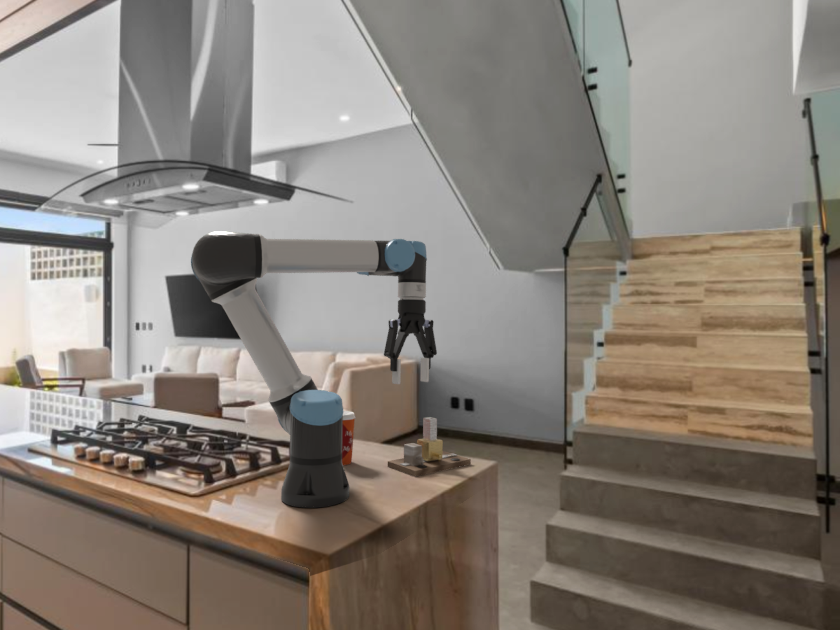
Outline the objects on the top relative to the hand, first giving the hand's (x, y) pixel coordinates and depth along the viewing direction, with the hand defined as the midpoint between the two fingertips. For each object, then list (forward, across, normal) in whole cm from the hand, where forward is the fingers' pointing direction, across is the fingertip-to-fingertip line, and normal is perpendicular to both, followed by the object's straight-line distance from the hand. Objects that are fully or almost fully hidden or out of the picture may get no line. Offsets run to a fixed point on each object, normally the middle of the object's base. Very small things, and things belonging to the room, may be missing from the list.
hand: (410, 382), depth 148 cm
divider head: (+21, +7, -1) cm, 23 cm away
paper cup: (+24, -11, +17) cm, 31 cm away
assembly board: (+23, +7, 0) cm, 24 cm away
